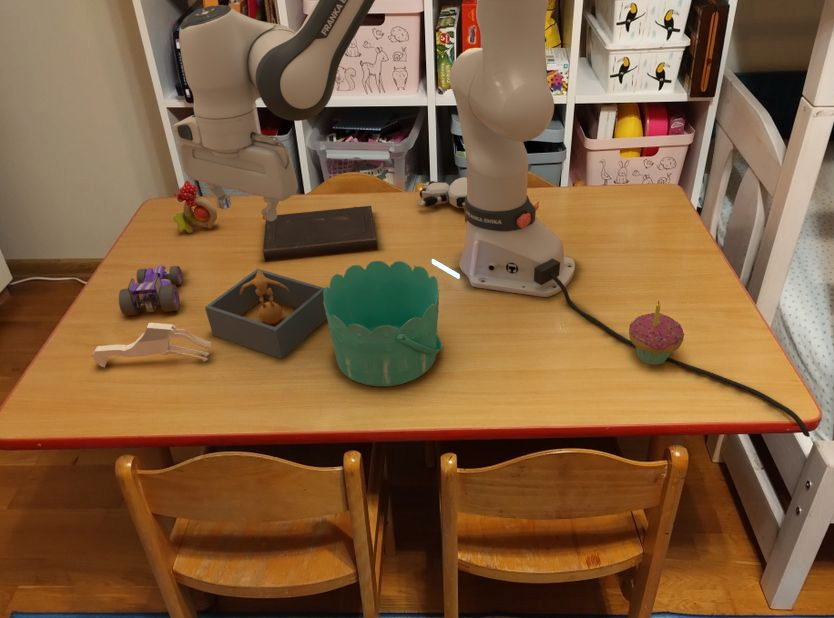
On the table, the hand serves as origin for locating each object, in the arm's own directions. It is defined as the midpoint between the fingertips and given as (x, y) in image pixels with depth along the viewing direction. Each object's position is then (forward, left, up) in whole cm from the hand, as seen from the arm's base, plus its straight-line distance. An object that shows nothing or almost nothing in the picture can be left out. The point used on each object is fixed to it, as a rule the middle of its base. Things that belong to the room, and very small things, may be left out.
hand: (247, 213), depth 114 cm
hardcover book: (+11, -30, -22) cm, 39 cm away
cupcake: (-62, -21, -22) cm, 69 cm away
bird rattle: (+38, -22, -22) cm, 49 cm away
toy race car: (+26, +2, -22) cm, 34 cm away
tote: (0, 0, -22) cm, 22 cm away
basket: (-23, -2, -22) cm, 32 cm away
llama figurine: (+11, +17, -22) cm, 30 cm away
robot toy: (-7, -56, -22) cm, 61 cm away
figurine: (0, 0, -22) cm, 22 cm away
